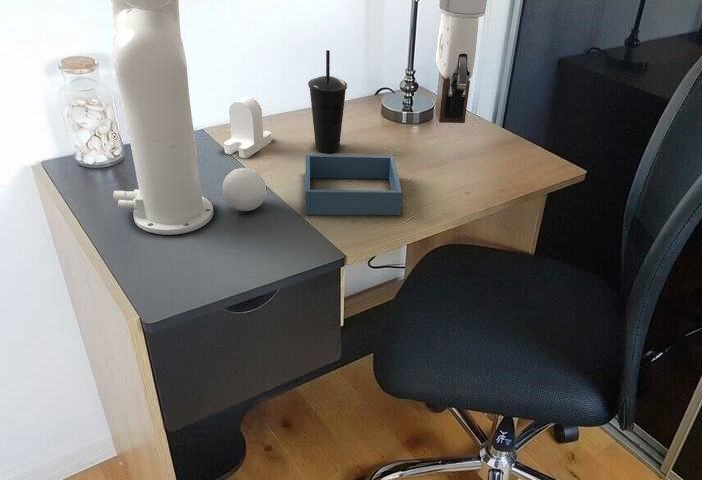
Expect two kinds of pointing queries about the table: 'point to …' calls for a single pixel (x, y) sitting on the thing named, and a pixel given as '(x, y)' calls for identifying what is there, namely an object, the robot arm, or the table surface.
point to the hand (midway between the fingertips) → (450, 110)
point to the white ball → (244, 189)
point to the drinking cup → (327, 109)
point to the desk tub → (352, 199)
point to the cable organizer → (246, 128)
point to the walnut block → (441, 98)
